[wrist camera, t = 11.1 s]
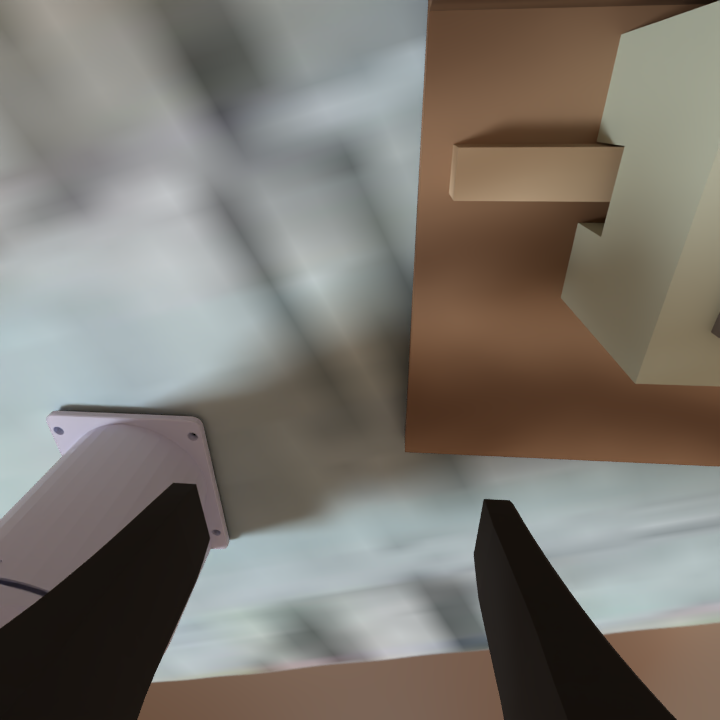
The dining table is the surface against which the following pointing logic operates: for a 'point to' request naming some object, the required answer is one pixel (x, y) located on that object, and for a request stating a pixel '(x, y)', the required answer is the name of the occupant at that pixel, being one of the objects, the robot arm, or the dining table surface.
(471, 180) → the wall board
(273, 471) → the dining table surface
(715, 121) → the cabinet block
